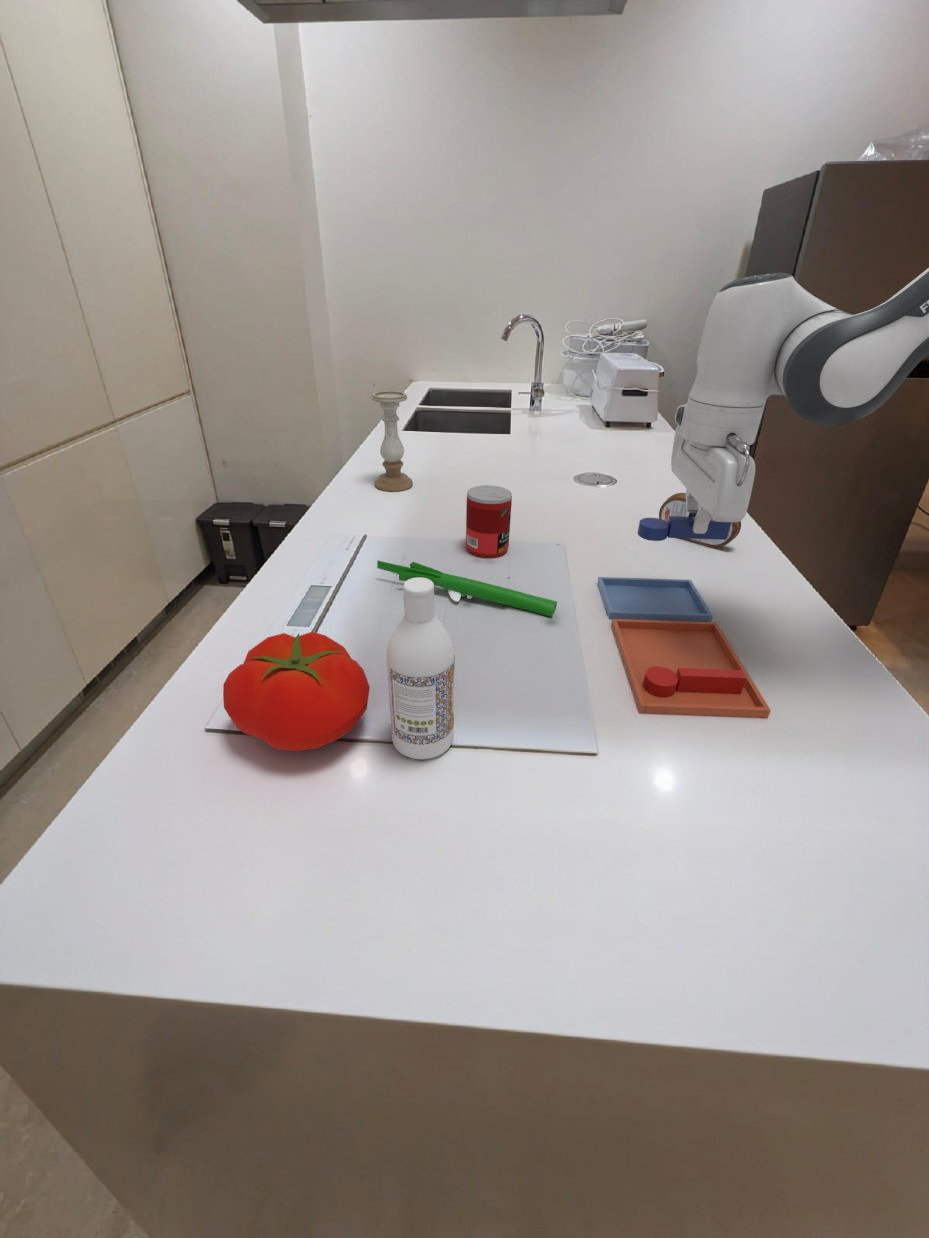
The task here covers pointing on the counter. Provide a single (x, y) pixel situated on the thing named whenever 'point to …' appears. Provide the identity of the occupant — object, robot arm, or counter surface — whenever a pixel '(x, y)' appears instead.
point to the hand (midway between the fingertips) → (694, 527)
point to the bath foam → (421, 676)
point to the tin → (678, 508)
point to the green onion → (472, 588)
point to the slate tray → (652, 599)
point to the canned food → (488, 520)
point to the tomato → (296, 692)
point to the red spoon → (692, 681)
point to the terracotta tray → (683, 649)
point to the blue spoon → (679, 529)
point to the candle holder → (391, 444)
